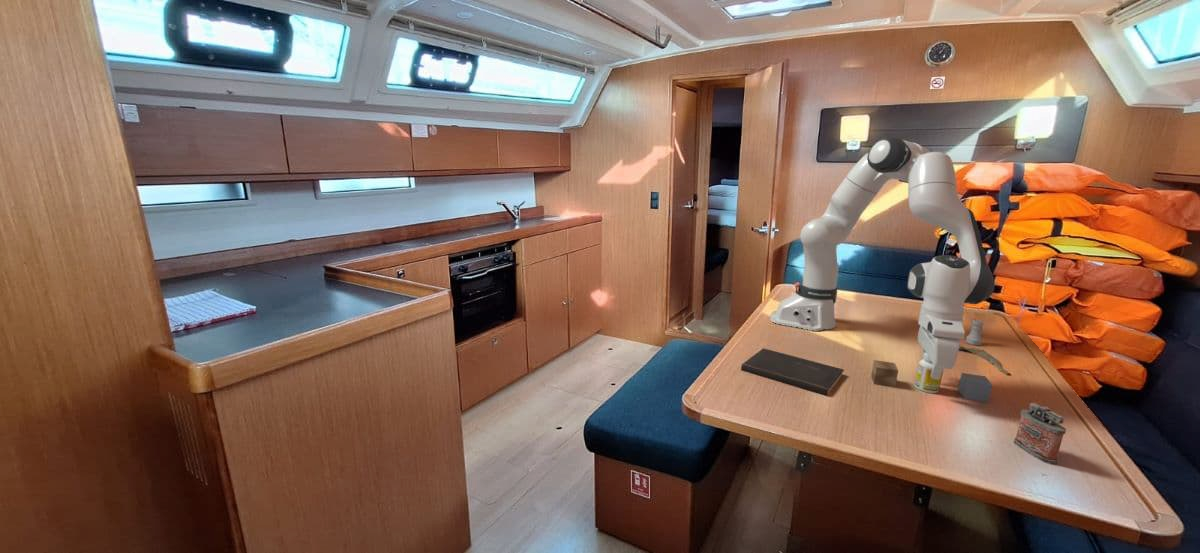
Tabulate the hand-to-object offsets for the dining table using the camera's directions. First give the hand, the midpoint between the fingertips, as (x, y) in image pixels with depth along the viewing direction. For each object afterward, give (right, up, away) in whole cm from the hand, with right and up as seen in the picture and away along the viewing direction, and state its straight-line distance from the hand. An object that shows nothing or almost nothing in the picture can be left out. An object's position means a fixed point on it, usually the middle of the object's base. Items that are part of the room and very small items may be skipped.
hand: (930, 370), depth 123 cm
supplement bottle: (0, -5, +1) cm, 5 cm away
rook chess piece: (+37, +2, +33) cm, 49 cm away
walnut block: (-9, -4, +5) cm, 11 cm away
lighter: (+4, -12, -25) cm, 28 cm away
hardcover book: (-32, -3, +10) cm, 34 cm away
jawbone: (+28, -1, +20) cm, 34 cm away
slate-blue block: (+9, -6, -2) cm, 11 cm away
